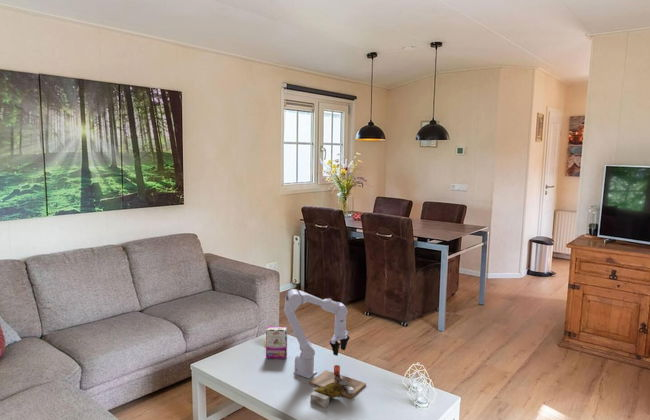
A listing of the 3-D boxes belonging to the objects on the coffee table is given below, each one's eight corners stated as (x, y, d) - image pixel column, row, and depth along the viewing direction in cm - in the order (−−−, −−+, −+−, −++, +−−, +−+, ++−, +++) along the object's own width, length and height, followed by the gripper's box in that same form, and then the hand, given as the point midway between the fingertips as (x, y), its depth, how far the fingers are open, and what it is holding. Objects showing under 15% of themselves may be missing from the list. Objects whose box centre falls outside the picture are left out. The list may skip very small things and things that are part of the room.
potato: (320, 390, 217) (321, 374, 216) (345, 398, 211) (345, 382, 210) (311, 398, 210) (312, 382, 209) (336, 407, 203) (337, 389, 202)
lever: (355, 393, 213) (355, 382, 212) (346, 394, 211) (346, 383, 210) (339, 374, 230) (339, 364, 229) (331, 376, 228) (331, 365, 228)
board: (293, 396, 211) (293, 387, 211) (325, 372, 235) (325, 364, 234) (336, 412, 199) (336, 403, 199) (365, 385, 223) (366, 377, 222)
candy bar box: (287, 355, 253) (287, 326, 251) (286, 359, 248) (286, 330, 246) (267, 354, 254) (267, 326, 252) (265, 358, 249) (265, 329, 247)
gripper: (339, 333, 226) (338, 359, 228) (353, 324, 238) (352, 349, 240) (327, 330, 230) (326, 355, 231) (342, 321, 242) (341, 346, 244)
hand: (339, 352), depth 236 cm, fingers open, 7 cm apart
